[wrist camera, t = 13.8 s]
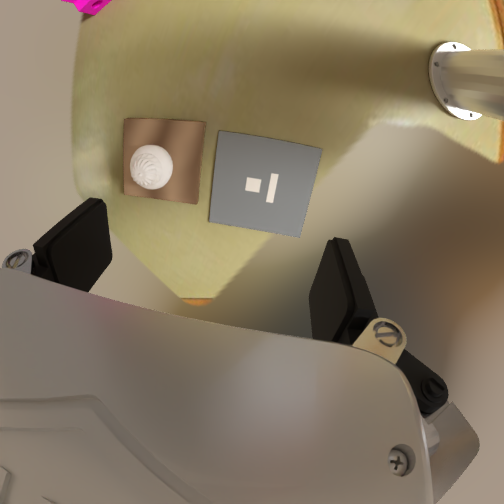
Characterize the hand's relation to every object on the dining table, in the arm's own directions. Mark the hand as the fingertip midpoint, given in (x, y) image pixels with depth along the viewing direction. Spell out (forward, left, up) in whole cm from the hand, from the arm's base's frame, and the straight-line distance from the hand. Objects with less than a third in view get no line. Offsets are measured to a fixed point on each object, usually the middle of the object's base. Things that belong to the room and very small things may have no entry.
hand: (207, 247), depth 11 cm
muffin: (+13, +5, -27) cm, 30 cm away
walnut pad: (+13, +5, -28) cm, 31 cm away
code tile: (-2, +7, -28) cm, 29 cm away
